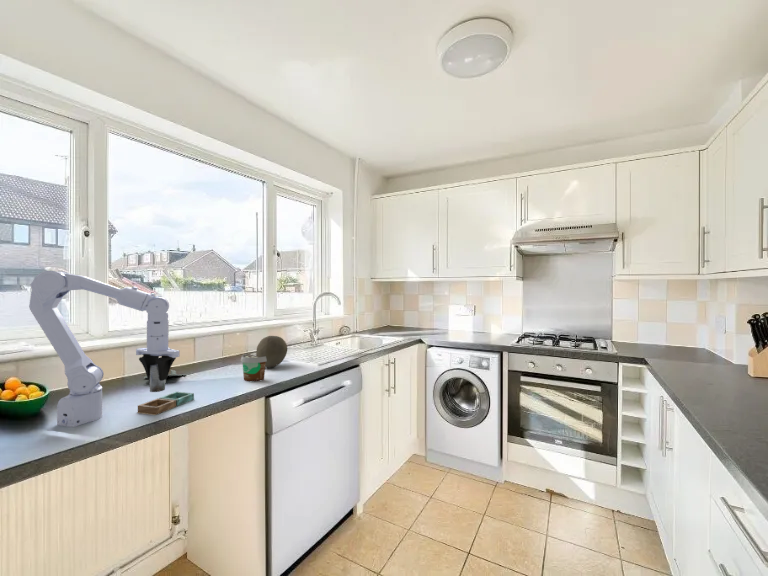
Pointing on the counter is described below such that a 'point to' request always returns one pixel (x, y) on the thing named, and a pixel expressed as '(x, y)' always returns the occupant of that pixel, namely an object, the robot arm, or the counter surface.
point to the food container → (253, 367)
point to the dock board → (165, 403)
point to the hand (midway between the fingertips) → (157, 379)
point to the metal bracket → (173, 373)
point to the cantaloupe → (272, 350)
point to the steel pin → (155, 379)
